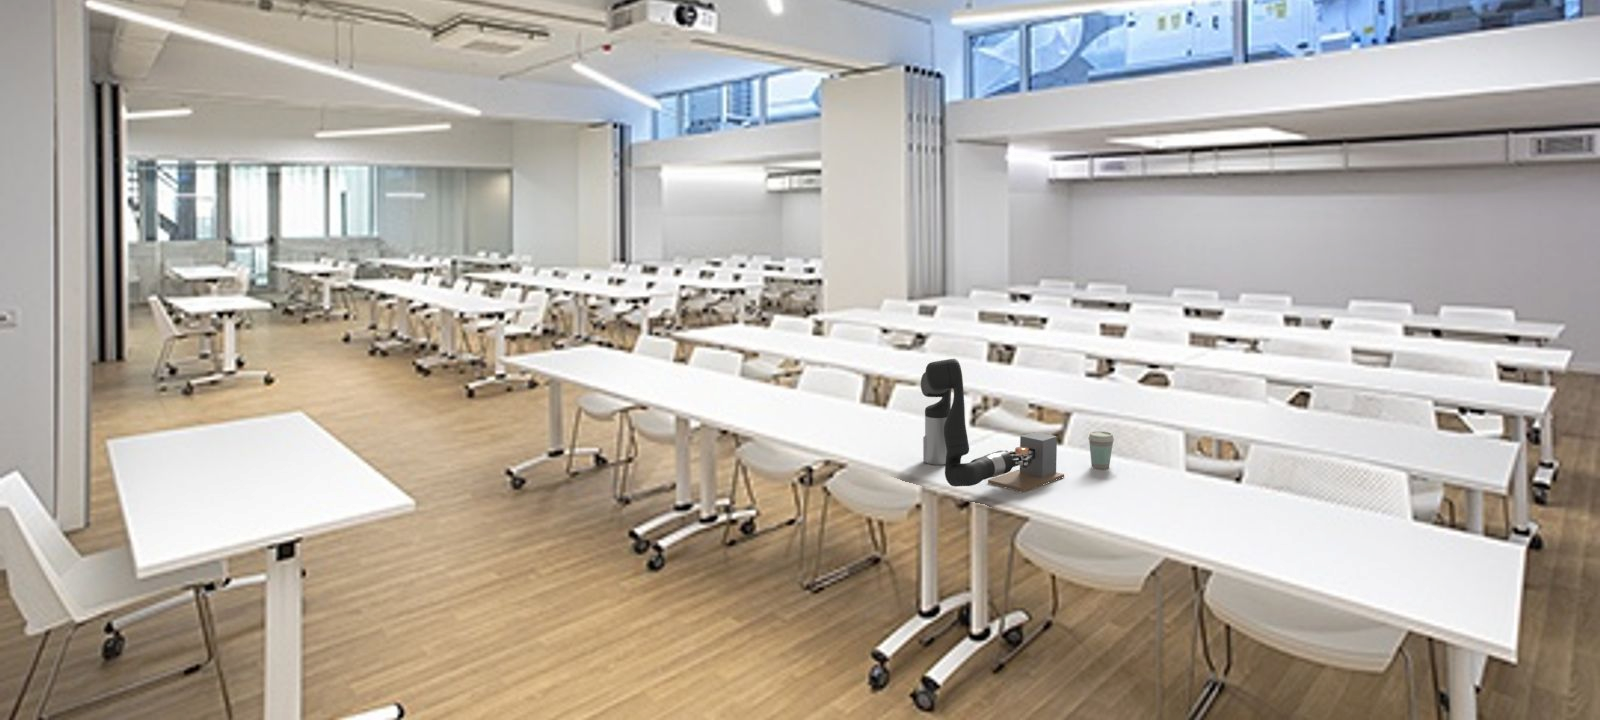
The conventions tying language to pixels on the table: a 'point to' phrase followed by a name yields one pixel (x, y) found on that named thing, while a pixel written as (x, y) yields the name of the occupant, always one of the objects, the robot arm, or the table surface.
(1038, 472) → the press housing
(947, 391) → the robot arm
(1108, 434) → the coffee cup
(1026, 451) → the plunger
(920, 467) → the table surface
